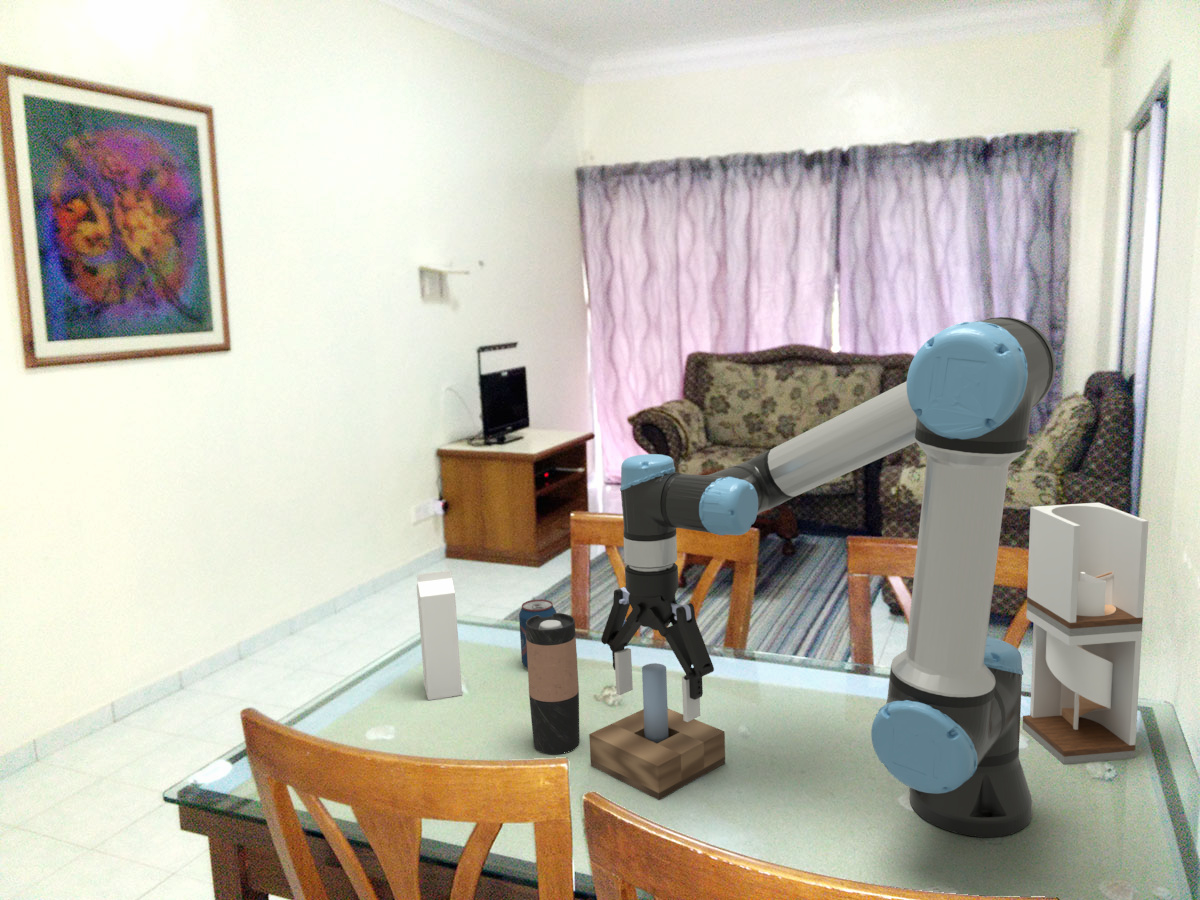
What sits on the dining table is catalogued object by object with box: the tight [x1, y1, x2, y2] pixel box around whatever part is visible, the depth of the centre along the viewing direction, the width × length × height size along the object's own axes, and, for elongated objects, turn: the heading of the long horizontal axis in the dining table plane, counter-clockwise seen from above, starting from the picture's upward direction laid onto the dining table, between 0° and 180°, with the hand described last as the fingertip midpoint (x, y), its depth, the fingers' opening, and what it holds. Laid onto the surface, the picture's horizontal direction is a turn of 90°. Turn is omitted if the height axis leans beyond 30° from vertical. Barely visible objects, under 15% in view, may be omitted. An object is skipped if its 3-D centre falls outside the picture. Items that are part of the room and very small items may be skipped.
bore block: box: [588, 708, 726, 801], centre depth 143 cm, size 14×14×5 cm
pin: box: [641, 663, 669, 743], centre depth 142 cm, size 4×4×14 cm
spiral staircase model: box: [1021, 502, 1149, 765], centre depth 142 cm, size 11×11×35 cm
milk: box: [416, 569, 463, 701], centre depth 171 cm, size 6×6×22 cm
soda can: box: [518, 599, 557, 670], centre depth 181 cm, size 7×7×12 cm
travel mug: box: [526, 612, 580, 755], centre depth 150 cm, size 8×8×20 cm
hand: (657, 704), depth 142 cm, fingers open, 13 cm apart
